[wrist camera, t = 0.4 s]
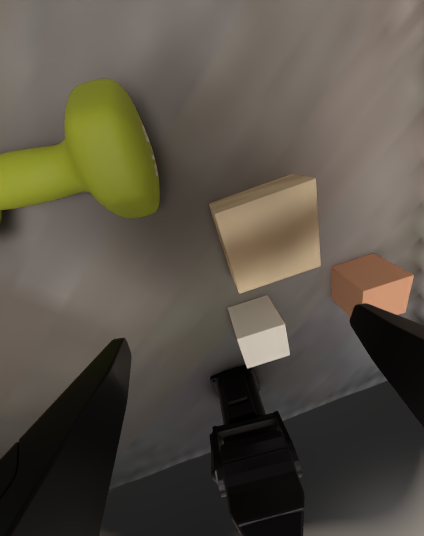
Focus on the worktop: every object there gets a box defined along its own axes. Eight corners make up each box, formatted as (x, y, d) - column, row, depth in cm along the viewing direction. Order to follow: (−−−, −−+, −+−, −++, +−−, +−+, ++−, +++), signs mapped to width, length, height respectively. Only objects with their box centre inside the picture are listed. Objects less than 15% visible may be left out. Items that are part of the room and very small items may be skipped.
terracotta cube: (369, 286, 27) (405, 312, 23) (331, 298, 27) (360, 326, 23) (372, 253, 25) (413, 275, 21) (331, 266, 25) (363, 291, 21)
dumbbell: (139, 89, 15) (112, 48, 9) (170, 202, 19) (166, 228, 13) (-99, 135, 15) (-305, 125, 8) (-17, 241, 19) (-115, 288, 12)
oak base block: (299, 248, 23) (320, 266, 20) (230, 272, 24) (239, 293, 20) (291, 173, 19) (315, 178, 16) (208, 202, 20) (214, 214, 16)
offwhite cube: (273, 323, 28) (290, 355, 24) (236, 335, 28) (247, 368, 24) (267, 294, 26) (284, 324, 21) (227, 307, 26) (237, 339, 21)
